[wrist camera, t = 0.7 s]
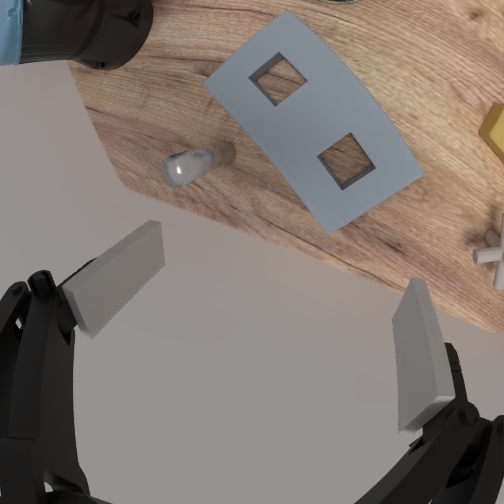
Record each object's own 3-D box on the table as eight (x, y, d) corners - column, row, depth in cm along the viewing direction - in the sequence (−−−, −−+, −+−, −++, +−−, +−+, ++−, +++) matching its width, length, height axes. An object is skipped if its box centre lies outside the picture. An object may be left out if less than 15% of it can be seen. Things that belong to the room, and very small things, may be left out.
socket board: (212, 86, 30) (201, 84, 28) (292, 18, 23) (287, 9, 21) (329, 226, 35) (327, 235, 32) (417, 169, 27) (424, 174, 25)
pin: (209, 151, 35) (155, 170, 25) (225, 136, 33) (174, 148, 23) (224, 169, 36) (175, 193, 26) (240, 154, 34) (195, 173, 24)
